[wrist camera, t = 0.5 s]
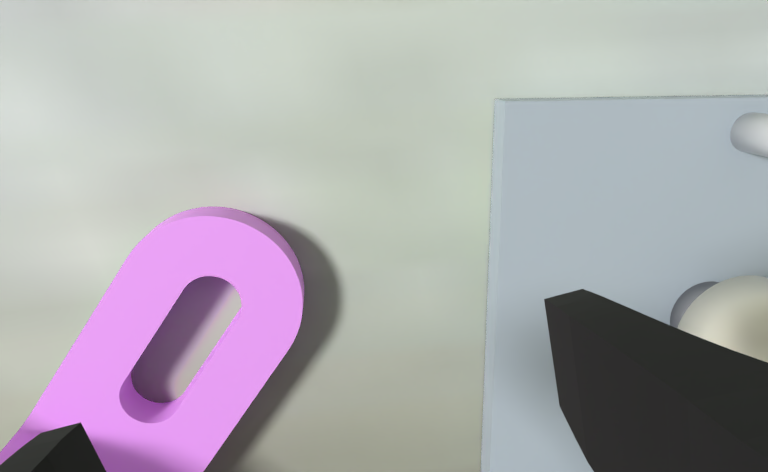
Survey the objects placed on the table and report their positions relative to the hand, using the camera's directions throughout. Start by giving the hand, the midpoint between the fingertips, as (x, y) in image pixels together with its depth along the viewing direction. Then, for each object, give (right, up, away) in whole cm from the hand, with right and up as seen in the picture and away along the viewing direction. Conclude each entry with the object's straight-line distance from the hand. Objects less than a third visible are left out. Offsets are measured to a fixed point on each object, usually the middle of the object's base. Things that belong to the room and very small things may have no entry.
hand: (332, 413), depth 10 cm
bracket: (-7, -2, +12) cm, 14 cm away
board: (+11, 0, +12) cm, 17 cm away
